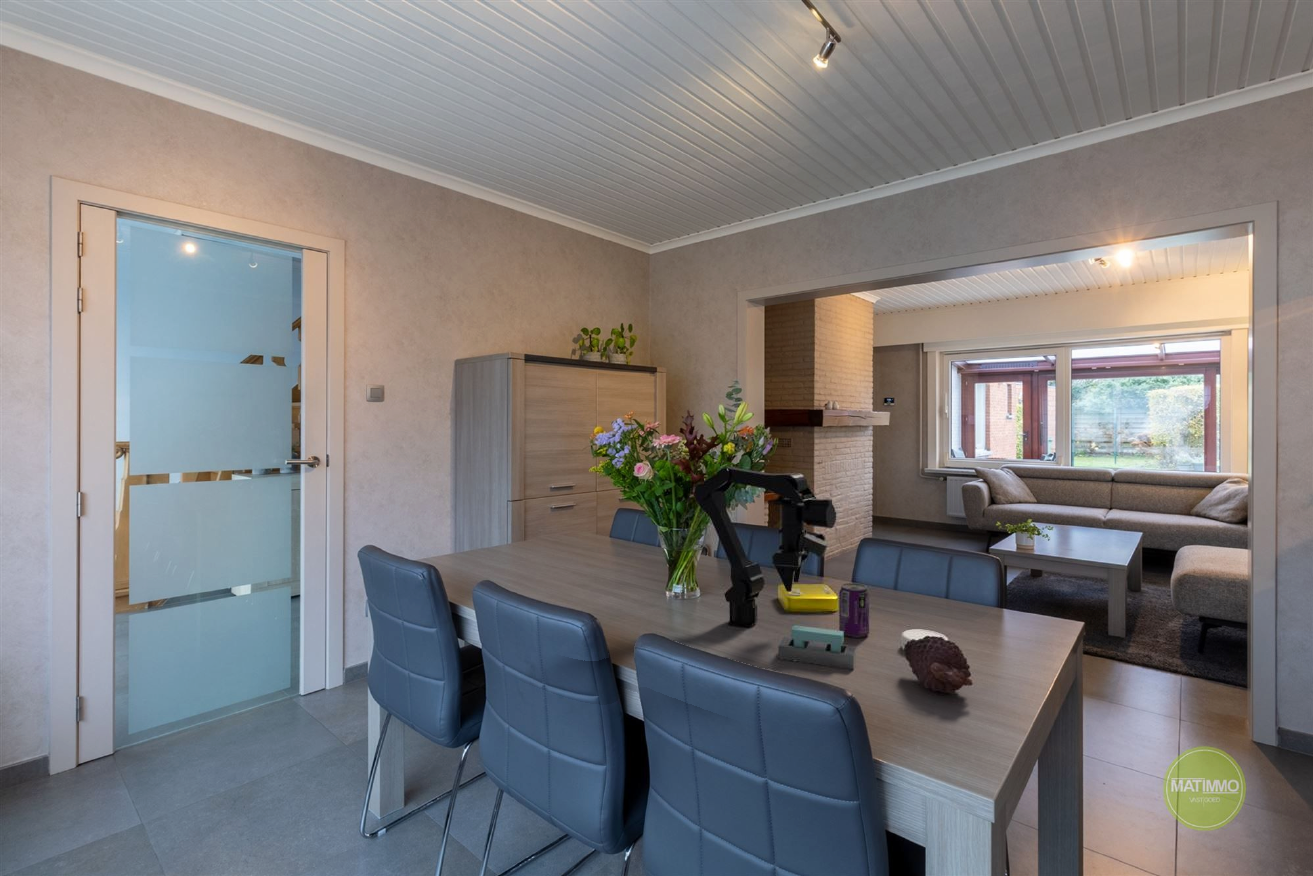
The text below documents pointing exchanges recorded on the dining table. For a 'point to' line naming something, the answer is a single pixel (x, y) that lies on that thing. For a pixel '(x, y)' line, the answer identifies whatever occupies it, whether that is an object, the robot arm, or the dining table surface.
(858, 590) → the beverage can
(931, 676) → the pine cone
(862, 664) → the dining table surface
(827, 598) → the element tile
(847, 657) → the grey slotted base block
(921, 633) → the coaster
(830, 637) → the clip
